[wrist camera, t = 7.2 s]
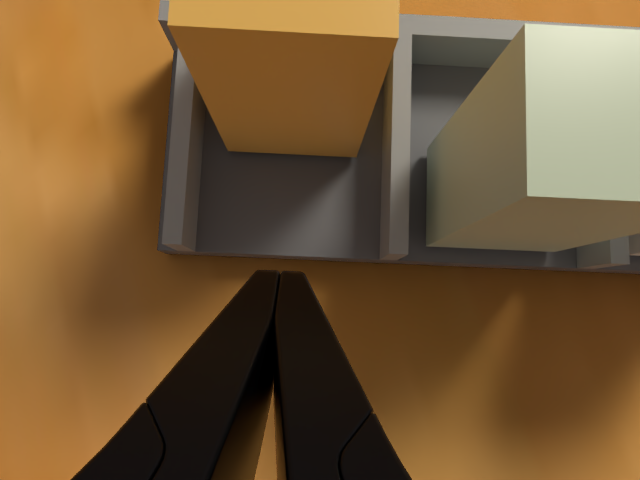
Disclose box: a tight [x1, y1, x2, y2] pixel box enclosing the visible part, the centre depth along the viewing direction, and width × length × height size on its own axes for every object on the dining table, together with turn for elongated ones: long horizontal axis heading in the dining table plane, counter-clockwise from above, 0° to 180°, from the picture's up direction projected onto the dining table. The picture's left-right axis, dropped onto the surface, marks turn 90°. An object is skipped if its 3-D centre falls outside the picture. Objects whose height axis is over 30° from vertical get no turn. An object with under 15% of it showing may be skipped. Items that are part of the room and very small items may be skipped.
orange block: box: [167, 0, 400, 157], centre depth 14 cm, size 4×4×8 cm
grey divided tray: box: [157, 0, 640, 274], centre depth 18 cm, size 8×23×3 cm, turn 88°
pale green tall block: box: [426, 23, 640, 252], centre depth 14 cm, size 4×4×8 cm
